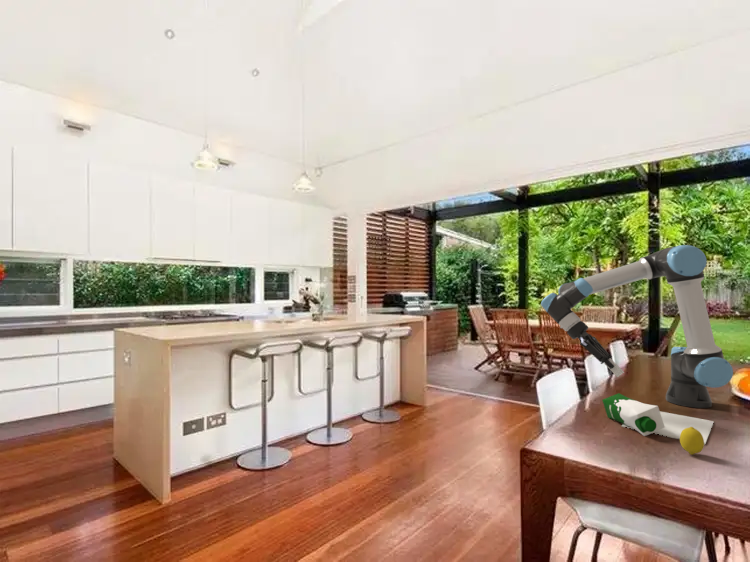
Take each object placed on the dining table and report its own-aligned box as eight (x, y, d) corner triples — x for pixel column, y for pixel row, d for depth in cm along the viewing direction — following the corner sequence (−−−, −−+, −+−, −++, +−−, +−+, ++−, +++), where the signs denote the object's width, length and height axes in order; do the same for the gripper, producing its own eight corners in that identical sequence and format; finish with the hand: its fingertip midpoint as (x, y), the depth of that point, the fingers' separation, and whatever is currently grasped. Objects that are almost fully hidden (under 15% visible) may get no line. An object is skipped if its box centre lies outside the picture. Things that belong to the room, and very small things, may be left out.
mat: (713, 422, 147) (713, 421, 147) (705, 444, 127) (705, 443, 127) (639, 408, 163) (639, 407, 163) (621, 426, 142) (621, 425, 142)
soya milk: (598, 398, 151) (640, 415, 131) (620, 389, 152) (664, 405, 132) (606, 420, 152) (648, 441, 132) (627, 412, 153) (673, 430, 133)
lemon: (675, 452, 121) (675, 425, 121) (687, 449, 123) (687, 422, 123) (696, 460, 116) (696, 431, 116) (708, 456, 118) (708, 428, 118)
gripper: (572, 330, 173) (617, 377, 161) (561, 333, 163) (608, 383, 152) (586, 319, 169) (633, 366, 158) (575, 321, 159) (624, 371, 148)
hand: (620, 374), depth 155 cm, fingers closed
